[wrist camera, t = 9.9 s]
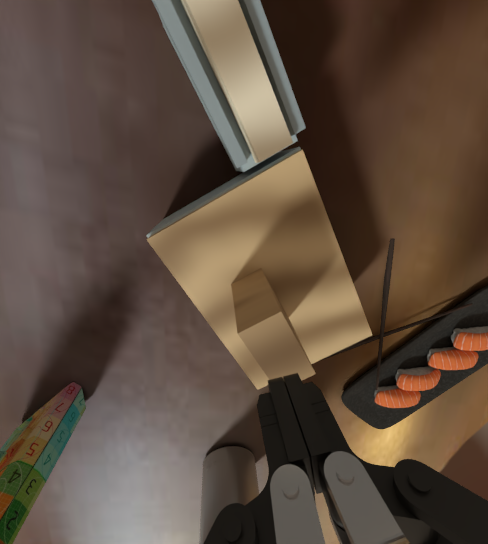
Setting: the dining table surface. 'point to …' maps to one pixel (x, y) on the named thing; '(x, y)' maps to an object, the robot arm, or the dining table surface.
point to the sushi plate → (420, 360)
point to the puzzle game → (35, 456)
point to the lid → (267, 273)
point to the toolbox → (215, 100)
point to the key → (240, 74)
